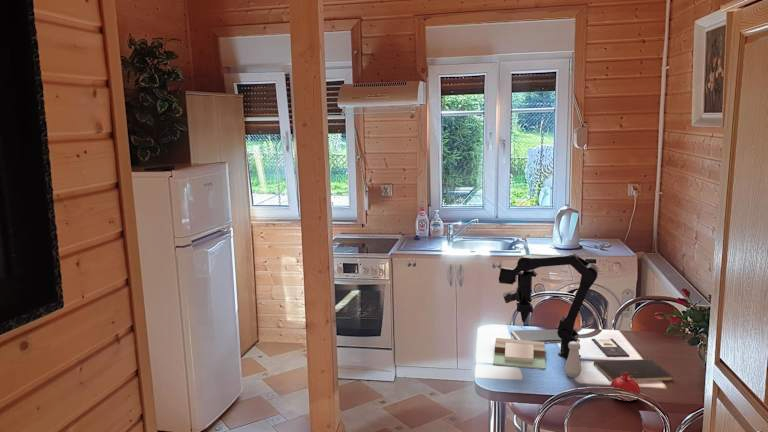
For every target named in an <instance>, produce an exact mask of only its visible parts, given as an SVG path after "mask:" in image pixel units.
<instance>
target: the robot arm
mask: <svg viewBox="0 0 768 432" xmlns="http://www.w3.org/2000/svg"><path fill="white" fill-rule="evenodd" d="M555 266H571V267H572V268H573V269H574V270H576V272H577V273H579V274H580V275H581V276H580V277H581V278H580V281H579V286H578V289H577V291H576V292H575V293H576V294H575V296H574V298H573V300H572V302H571V304H570V307H569V310H568V312H567V314H566V316H563V315H561V317H560V320H559V323H558V324H557V326H556V329H558V331H557V334H558V336H559V337H560V338H561V339H562V342H560V352H559V353H558V354H557V355H558V356H560V357H563V358H564V359H568V355H569V351H570V349H569V347H568V344H569V342H572V341H575V342H577V340H578V338H579V336H580V334H579V333H578V332H577V331H576V329H575V324H576V320H577V318H578V315H579V312H580V310H581V308H582V306H583V303H584V302H585V301H584V300H585V299H586V297H587V294H588V291H589V290H590V288H591V287H592V286H593V284H594V283H595V282H596V280H597V278H598V275H599V268H598V266H597V265H596V264H593V263H590V262H589V261H587V260H585V259H584V258H581V257H580V256H578V255H577V254H576V253H574V252H571V253H567V254H566V253H565V254H555V255H554V254H552V255H535V254H523V255H521V257H520V258H519V259H518V260H517V263H516V265H515V266H514V267H513V268H512V267H505V266H501V267H500V269H499V270H500V271H499V275H498V283H499V284H504V285H514V283H517V286H516V288H515V289H513V290H510V291H506V292H504V293H503V294H502V295H503V299H504V303H505V304H509V303H511V302H514V301H516V312H517V313H520V317H521V322H522V323H525V322H526V321H527V319H528V317H529V314H530V313H531V314H532V313H534V306H533V304H532V293H533V287H532V286H533V277H534V278H536V277H537V276H538V273H537V272H536V271H535V269H538V268H543V267H544V268H546V267H555ZM579 357H580V358H581V357H582V355H580V354H579Z"/></svg>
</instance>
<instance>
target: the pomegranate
mask: <svg viewBox="0 0 768 432" xmlns="http://www.w3.org/2000/svg"><path fill="white" fill-rule="evenodd" d="M624 374H625V376H624V375H623V374H620V375H622V376H621V377H615V378H616V379H615V380H613V381H612V382H611V381H610V382H611V383H610V385H609V386H610V387H614V388H620V389H624V390H628V391H632V392H636V393H640V394H641V393H642V392H641V388H640V385H639V383H638V381H636V382H635V380H634V379H635V378H629V377H630V376H631V375H630V376H628V377H627V372H624ZM631 377H632V376H631ZM637 380H638V379H637Z"/></svg>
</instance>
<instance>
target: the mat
mask: <svg viewBox="0 0 768 432" xmlns="http://www.w3.org/2000/svg"><path fill="white" fill-rule="evenodd" d="M493 354H494V355H493V361H492V363H493V364H492V365H493V366H502V365H503V366H505V367H513V368H514V367H517V368H527V369H537V370H546V356H545V357H540V356H533V362H521V361H510V360H505V353H495V352H494V353H493ZM503 366H502V367H503Z"/></svg>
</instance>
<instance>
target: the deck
mask: <svg viewBox="0 0 768 432" xmlns="http://www.w3.org/2000/svg"><path fill="white" fill-rule="evenodd" d="M506 343H517V344H530V345H533V356H540V357H545V358H546V345H545V344H546V343H545V342H540V341H528V340H516V339H515V338H511V339H510V338H501V337H496V338H495V342H494V353H505V346H506Z"/></svg>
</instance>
